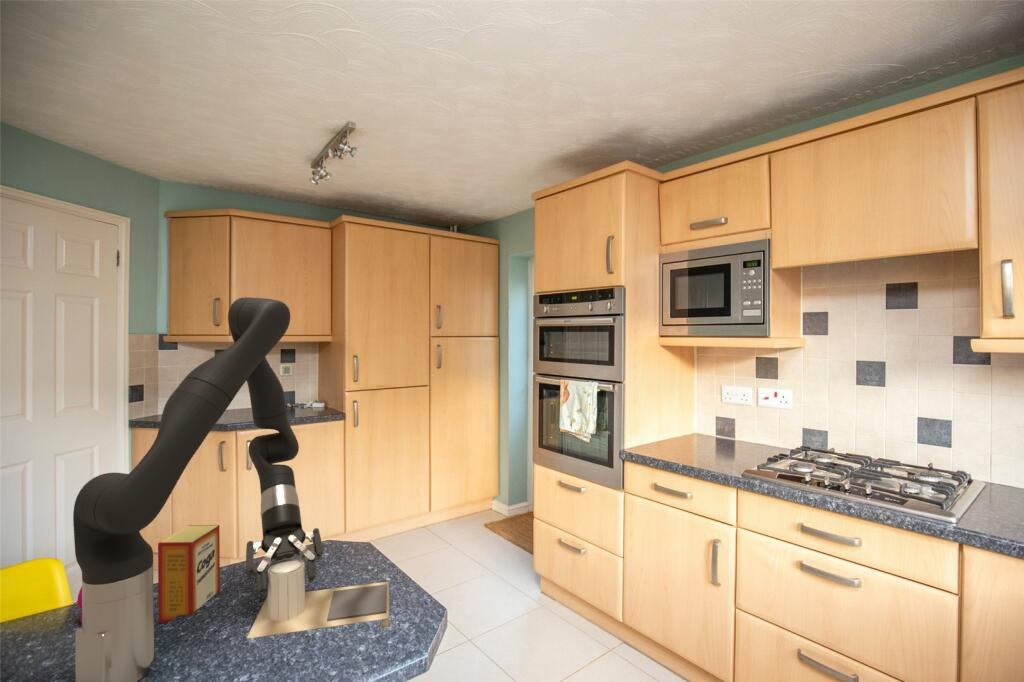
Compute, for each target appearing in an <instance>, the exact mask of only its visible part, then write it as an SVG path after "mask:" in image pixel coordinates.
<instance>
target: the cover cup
mask: <svg viewBox="0 0 1024 682" xmlns="http://www.w3.org/2000/svg"><path fill="white" fill-rule="evenodd" d="M305 563H306V562H305V561H304V560H302V559H297V558H296V559H295V558H292V559H291V558H290V559H283V560H279V561H277V562H275V563H273V564H271V565H269V566H268V568H267V597H268V617H269V619H270V620H272V621H287V620H290V619H293V618H295V617H297V616H299V615H300V614H302V613H303V612H304V609H305V592H306V587H305V586H306V585H305V584H306V579H305V578H306V573H305V572H306V570H305V569H306V566H305Z"/></svg>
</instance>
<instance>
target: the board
mask: <svg viewBox="0 0 1024 682" xmlns="http://www.w3.org/2000/svg"><path fill="white" fill-rule="evenodd" d="M379 620H380V621H381V620H382V621H381V622H380V624H378V626H377V627H376V629H377V628H384V627H390V581H384V582H383V581H382V582H374V583H366V584H357V585H352V586H351V585H350V586H344V587H343V586H342V587H335V588H334V587H333V588H327V589H326V588H325V589H318V590H311V591H310V590H309V591H305V609H304V612H303V613H302V614H300V615H299V616H297V617H295V618H293V619H290V620H287V621H272V620H270V619H269V617H268V596H266V598H265V599H264V602H263V604H262V605H261V607H260V609H259V612H258V615H257V616H256V617H255V620H254V623H253V625H252V626H251V629H250V630H249V633H248V635H247V636H246V640H248V639H255V638H261V637H262V638H263V637H267V636H275V635H282V634H289V633H296V632H303V631H309V630H310V631H311V630H315V629H316V630H317V629H318V630H319V629H323V628H324V629H326V628H331V627H338V626H346V625H352V624H359V623H366V622H367V623H368V622H375V621H379Z"/></svg>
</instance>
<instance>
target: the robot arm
mask: <svg viewBox="0 0 1024 682" xmlns="http://www.w3.org/2000/svg"><path fill="white" fill-rule="evenodd" d="M227 312H228V314H227V322H228V327H229V331H230V333H231V338H232V341H233V344H231V346H229V347H228V348H226V349H225V350H222V351H221V352H220V353H218V354H215V355H214V356H212V357H210V358H209V359H207V360H205V361H204V362H203V363H201V364H199V365H198V366H196V367H195V368H193V369H192V370H191V371H190V372H189V373H188V374H187V375H186V376H185V378H184V379H182V381H181V382H180V383H179V384H178V386H177V387H176V388H175V390H174V391H173V392H171V395H170V396H169V397H168V399H167V400H166V403H165V405H164V407H163V410H162V414H161V419H160V422H159V423H160V424H159V426H158V427H159V428H158V430H157V434H156V437H155V439H154V441H153V444H151V446H150V448H149V450H148V451H147V452H146V453H145V455H144V456H143V457H142V458H141V459H140V461H139V462H138V463H137V464H136V466H134V468H133V469H132V470H131V471H130V472H129V473H124V472H106V473H102V474H99V475H96V476H95V477H93V478H91V479H89V480H88V481H87V482H86V483H85V484H84V485H83V486H82V487H81V489H80V491H79V492H78V494H76V495H77V496H76V498H75V501H74V505H73V513H72V514H73V515H72V517H73V519H72V520H73V523H72V525H73V539H74V540H73V541H74V555H75V559H76V563H77V564H78V567H79V569H80V571H81V587H82V609H81V612H82V623H81V627H80V628H77V629H76V630H75V635H74V636H75V640H74V641H75V644H74V645H75V647H74V648H75V660H74V661H75V682H138V681H140V680H141V679H143V678H144V677H146V676H147V675H148V674H149V673H150V671H152V668H150V667H149V665H150V664H151V663H152V662H153V660H154V656H155V631H154V630H155V627H154V621H155V620H154V618H155V617H154V550H153V547H152V546H151V545H150V544H149V543H148V542H147V541H146V539H145V538H144V537H143V536H142V534H141V530H143V529H146V527H148V526H149V525H150V524H151V523H152V522H153V521H154V520H155V519H156V518H157V517H158V515H159V514H160V513H161V511H162V509H163V508H164V506H165V505H166V503H167V502H168V499H169V498H170V496H171V494H172V492H173V491H174V489H175V487H176V486H177V483H178V481H179V480H180V479H181V476H182V475H183V473H184V472H185V470H186V468H187V466H188V465H189V463H190V461H191V460H192V459H193V457H194V455H195V454H196V453H197V451H198V450H199V448H200V447H201V445H202V444H203V442H204V441H205V440H206V437H208V435H209V434H210V433H211V430H212V429H213V428H214V427H215V425H216V424H217V423H218V422H219V420H220V419H221V417H222V416H223V415H224V413H225V412H226V410H227V409H228V408H229V406H230V405H231V404H232V402H233V400H234V399H235V397H236V396H237V394H238V393H239V391H240V390H241V388H242V387H243V386H244V385H245V383H247V384H246V385H247V388H248V393H249V400H250V407H251V414H252V420H253V424H254V426H255V427H256V428H257V429H263V430H272V431H273V430H275V431H277V432H273V433H267V434H263V435H257V436H256V437H253V438H252V440H250V442H249V444H248V449H247V450H248V455H249V457H250V460H251V462H252V464H253V466H254V469H255V470H256V472H257V476H258V479H259V488H260V512H259V513H260V518H261V528H262V530H261V531H262V539H261V541H258V542H257V541H256V542H254V541H253V540H250V541H249V540H248V542H247V543H246V547H245V548H246V549H245V566H246V567H245V574H246V575H245V576H247V577H248V576H249V577H251V576H255V577H256V582H257V584H256V585H257V586H256V587H257V591H258V593H261V595H262V596H263V595H267V593H268V584H267V576H266V573H267V572H266V570H268V568H269V567H270V566H271V565H272V562H273V561H274V560H276V561H277V562H279V561H283V560H285V559H291V558H294V556H296V557H297V558H299V560H302V561H303V562H304V563H306V572H307V573H306V574H307V580H308V584H312V583H313V582H314V580H315V579H316V576H317V567H316V562H317V561H320V560H321V559H323V555H324V546H323V542H322V537H321V534H320V529H319V528H318V527H315V528H314V529H313V530H311V531H307V532H305V530H303V526H302V525H303V524H302V523H303V522H302V518H301V510H300V509H301V508H300V502H299V495H298V493H297V487H296V480H295V473H294V470H293V468H292V467H290V466H289V465H287V464H280V463H284V462H288V461H292V460H294V459H295V458H296V456H297V455H298V453H299V449H300V446H299V442H298V439H297V436H296V434H295V433H294V431H293V429H292V427H291V424H290V422H289V418H288V413H287V407H286V398H285V391H284V389H283V385H282V383H281V382H280V379H279V378H278V376H277V374H276V373H275V371H274V369H273V368H272V366H271V365H270V363H269V362H268V360H267V357H266V356H268V354H269V353H270V352H271V351H272V349H274V348H275V346H276V345H277V344H278V343H279V342H280V340H281V339H282V338H283V337H284V336H285V334H286V332H287V331H288V329H289V327H290V326H289V325H290V322H291V311H290V308H289V307H288V305H287V304H286V303H284V302H283V301H281V300H278V299H274V298H262V297H247V296H246V297H239V298H238V299H236V300H234V301H233V302H232V303H231V305H230V306H229V309H228V311H227ZM278 463H279V464H278ZM306 539H307V540H308V542H310V543H312V546H313V549H314V553H313V552H311V551H310V550H309V549H308V546H306V545H305V544H304V543H305V540H306ZM260 549H261V550H262V551H263V552H264V553H265V554H264V556H263V558H262V559H261V562H260V563H259V565H254V563H255V562H254V560H255V559H254V555H257V554H258V551H259V550H260Z"/></svg>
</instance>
